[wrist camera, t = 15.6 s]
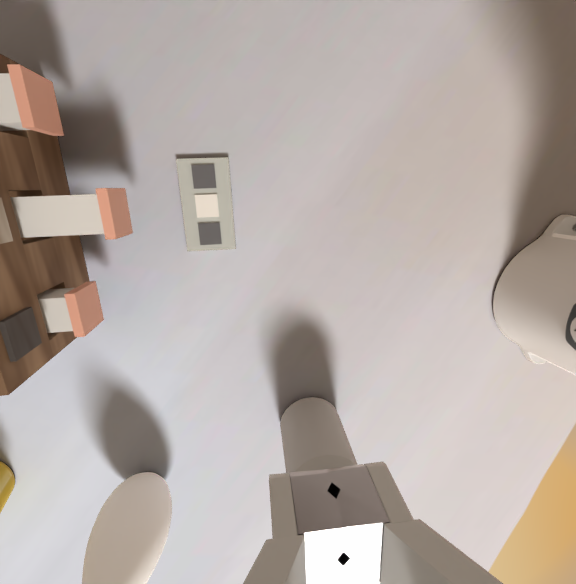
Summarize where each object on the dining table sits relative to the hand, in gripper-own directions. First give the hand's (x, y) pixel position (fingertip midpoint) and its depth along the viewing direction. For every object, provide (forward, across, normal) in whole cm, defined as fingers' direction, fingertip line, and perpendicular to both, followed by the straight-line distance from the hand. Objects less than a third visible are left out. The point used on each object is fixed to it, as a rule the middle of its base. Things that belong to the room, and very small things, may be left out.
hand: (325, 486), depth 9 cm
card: (+29, -6, +6) cm, 30 cm away
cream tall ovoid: (+29, -17, -28) cm, 44 cm away
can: (+29, +4, -21) cm, 36 cm away
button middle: (+24, -17, +6) cm, 30 cm away
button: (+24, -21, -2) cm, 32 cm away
